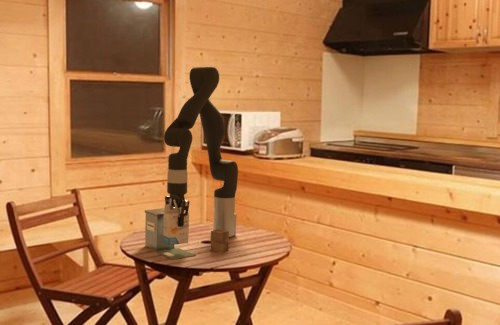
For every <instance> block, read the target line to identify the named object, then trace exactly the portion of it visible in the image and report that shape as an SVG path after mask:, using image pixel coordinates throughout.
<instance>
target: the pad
mask: <svg viewBox="0 0 500 325" xmlns="http://www.w3.org/2000/svg"><path fill="white" fill-rule="evenodd" d="M155 252H156V253H157V254H159V255H160V256H161V255H162V256H163V257H165V258H168V259H171V260H179V259H185V258H191V257H192V258H193V257H196V254H195V253H193V252H192V253H191V252H190V251H187V250H185V249H182V248H179V247H178V248H177V247H176V248H175V247H174V249H168V250H162V251H155Z"/></svg>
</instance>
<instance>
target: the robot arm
mask: <svg viewBox="0 0 500 325" xmlns="http://www.w3.org/2000/svg"><path fill="white" fill-rule="evenodd" d="M189 82H190V86H191V90H192V93H193V95H192V96H191V97H190V98H189V99H188V100H186V101H185V102H184V104H183V105H182V107H181V109H180V111H179V113H178V115H177V117H176V118H175V119H174V120H173V121H172V123H171V124H169V126H168V127H167V128H166V130H165V132H164V134H163V141H164V144H165V145H166V146H168V147H175V148H179V149H178V151H177V152H174V153H170V154H169V155H168V158H167V160H168V162H167V164H168V165H167V168H168V170H167V180H166V185H167V186H166V193H167V194H168V195H167V196H165V197H164V202H165V204H164V206H165V205H167V204H170V209H171V210H172V209H176V211H177V213H178V227H183V226H184V217H185V216H187V215H188V213H189V208H190V200H186V198H185V195H186V194H188V158H189V157H188V156H189V152H190V150H191V146H192V142H193V133H192V132H191V129H192V128H193V127H194V126H195V123H196V122H197V120H198V118H199V117H200V122H201V126H202V131H203V136H204V139H205V144H206V149H207V155H208V164H209V169H210V175H211V177H212V178H213V179H214V180H215V181H220V182H223V185H222V186H221V187H219V188H216V189H215V190H214V192H213V194H214V195H213V222H212V226H213V227H212V231H214V230H217V229H221V230H226V231H229V238H231V237H234V236H237V213H235V212H236V211H235V210H236V209H235V208H236V192H237V189H238V177H239V176H238V175H239V168H238V164H237V162H236V161H234V160H229V159H228V160H227V159H223V158H222V154H221V145H222V143H223V141H224V138H225V136H226V126H225V122H224V118H223V115H222V113H221V112H220V111H219V110H218V108H217V107H216V106H215V105H214V103H213V102H212V101H211V100H210V98H211V96H212V95H213V93H214V92H215V90H216V89H217V87H218V85H219V83H220V73H219V70H218V69H217V68H216V67H215V66H212V65H211V66H195V67H192V68H191V69H190V71H189ZM181 207H182V208H181ZM179 208H180V209H179ZM180 211H181V214H180Z"/></svg>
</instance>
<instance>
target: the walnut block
mask: <svg viewBox="0 0 500 325" xmlns="http://www.w3.org/2000/svg"><path fill="white" fill-rule="evenodd" d="M229 238H230V237H229V231H226V230H221V229H217V230H214V231H213V230H212V231H210V252H213V253H217V254H223V253H226V252H228V251H229V244H230V243H229V242H230V240H229Z"/></svg>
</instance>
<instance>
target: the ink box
mask: <svg viewBox="0 0 500 325" xmlns="http://www.w3.org/2000/svg"><path fill="white" fill-rule="evenodd" d="M163 208H164V234H163V243H166V244H167V245H174V246H175V245H183V244H189V231H190V229H189V228H190V226H189V225H190V213H189V212H188V215H187V216H185V217H184V226H183V227H178V213H177V211H176V209H172V210H171V209H170V204H167V205H165V204H164V207H163ZM181 208H182V207H181ZM179 209H180V208H179ZM180 214H181V211H180Z"/></svg>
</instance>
